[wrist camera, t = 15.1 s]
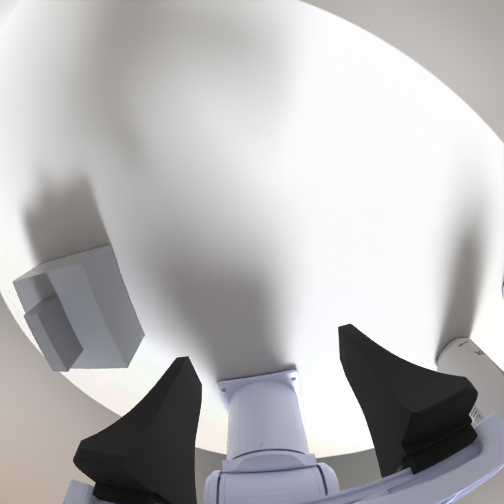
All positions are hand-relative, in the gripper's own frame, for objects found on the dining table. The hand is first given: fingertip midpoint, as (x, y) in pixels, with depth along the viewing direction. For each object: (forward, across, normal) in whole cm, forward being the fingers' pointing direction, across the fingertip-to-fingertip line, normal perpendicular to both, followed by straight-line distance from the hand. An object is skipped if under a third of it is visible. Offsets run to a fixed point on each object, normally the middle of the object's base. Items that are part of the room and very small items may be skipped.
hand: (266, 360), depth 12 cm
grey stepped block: (+10, +16, -1) cm, 19 cm away
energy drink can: (+10, -22, +17) cm, 29 cm away
